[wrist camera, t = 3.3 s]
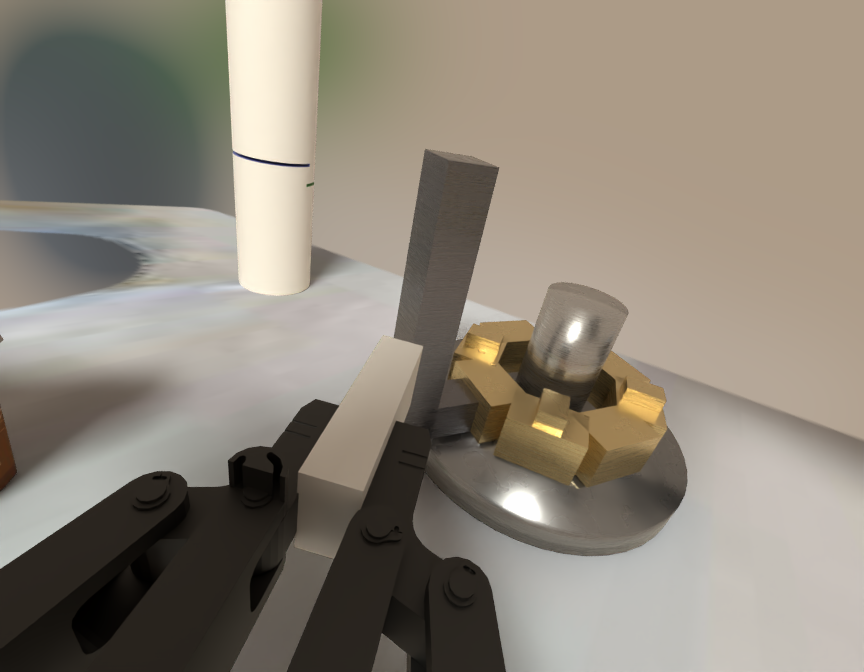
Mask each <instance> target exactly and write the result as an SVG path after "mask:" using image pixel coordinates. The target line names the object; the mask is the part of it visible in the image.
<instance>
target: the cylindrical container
mask: <svg viewBox="0 0 864 672" xmlns="http://www.w3.org/2000/svg"><path fill="white" fill-rule="evenodd" d="M225 2H226V21H227V41H228V42H227V43H228V60H229V61H228V63H229V82H230V83H229V84H230V104H231V127H232V147H233V150H234V151H233V167H234V189H235V209H236V230H237V251H238V272H239V283H240V284H241V285H242V286H243V287H244V288H246V289H247V290H250V291H252V292H255V293H259V294H264V295H272V296H283V295H292V294H296V293H300V292H302V291H304V290H305V289H307V288H308V287H309V284H310V265H311V242H312V218H313V194H314V171H315V150H316V128H317V105H318V82H319V61H320V60H319V59H320V38H321V16H322V0H225Z"/></svg>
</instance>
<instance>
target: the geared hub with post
mask: <svg viewBox="0 0 864 672" xmlns="http://www.w3.org/2000/svg"><path fill="white" fill-rule="evenodd" d="M498 171H499V167H496V166H494V165H492V164H489V163H487V162H484V161H482V160H479V159H477V158H475V157H472V156H466V155H460V154H453V153H446V152H440V151H434V150H428V149H426V150H425V153H424V159H423V165H422V171H421V177H420V183H419V189H418V195H417V201H416V207H415V213H414V219H413V225H412V231H411V237H410V243H409V249H408V255H407V262H406V268H405V274H404V279H403V285H402V291H401V297H400V303H399V309H398V315H397V322H396V328H395V334H394V338H395V339H399V340H402V341H406V342H410V343H414V344H417V345H421V346H423V350H422V354H421V359H420V364H419V368H418V373H417V377H416V382H415V386H414V391H413V395H412V400H411V405H410V407H409V410H408V413H407V416H406V418H405V421H404V423H406V424H410V425H413V426H417V427H421V428H424V429H428V431H429V435H430V439H432V438H438V437H443V436H448V435H453V434H459V433H464V432H469V431H470V432H471V433H472V435H473V436H474V438H475V439H476V441H477V442H478V444H480V443H485V442H490V441H494V440H498V441H497V444H496V447H495V450H494V453H493V455H495V456H497V457H500V458H502V459H504V460H507V461H509V462H512V463H514V464H517V465H519V466H521V467H524V468H526V469H529V470H531V471H534V472H536V473H539V474H541V475H543V476H546V477H548V478H551V479H553V480H556V481H558V482H561V483H563V484H565V485H568V486H569V485H570V483H571V481H572V479H573V477H574V475H576V476H577V477H578V478H579V479H580V480H581V482H582V483H583V484H584V485H585V486H586V487H587V488H588V487H591V486H594V485H598V484H601V483H604V482H608V481H611V480H614V479H617V478H621V477H624V476H627V475H631V474H634V473H637V472H640V471H641V469H642V468H643V466H644V465H645V463H646V462H647V460H648V459H649V457H650V456H651V454H652V452H653V451H654V449H655V448H656V446H657V445H658V443H659V441H660V440H661V438H662V437H663V435H664V433H665V432H666V430H667V426H666V421H665V417H664V412H663V406H664V405H665V403H666V397H665V393H664V389H663V388H661V387H658V386H656V385H653V384H650V381H651V380H650V379H648V378H647V377H646V376H644V375H643V374H642V373H640V372H639V371H638V370H636V369H635V368H634V367H632V366H631V365H630V364H628V363H627V362H626V361H624V360H623V359H622V358H620V357H619V356H618V355H616V354H615V353H614V352H612V351H610V353H609V355H608V357H607V359H606V361H605V364H604V366H603V368H602V370H601V372H600V374H599V376H598V378H597V380H596V382H595V384H594V386H593V389H592V391H591V393H590V395H589V397H588V399H587V401H588V402H589V403H590V404H591V405H593V406H594V407H595V408H596V410H590V411H585V412H580V413H578V412H576V411H573V410H570V409H569V405H570V397H568V396H565V395H562V394H560V393H557V392H554V391H551V390H548V389H546V388H544V389H543V391H542V394H541V396H540V398H538V397H535V396H532V395H530V394H527V393H525V392H524V391H523V389H522V388H521V387H520V386H519V385H518V384H517V383H516V382H515V381H514V380H513V379H512V378H511V376H510V375H509V374H508V373H512V372H519V369H520V366H521V364H522V361H523V358H524V355H525V352H526V350H527V347H528V344H529V341H530V338H531V336H532V333H533V330H534V327H533V326H532V325H531V324H530V323H529V322H527V321H526V320H522V321H503V322H485V323H480V326H479V325H476V324H473V325H472V327H471V328H470V330H469V331H468V333H467V334H466V336H465V337H464V338H463V340H462V341H461V343H460V344H459V346H458V347H457V349H456V350H455V352H454V355H453V359H452V363H451V367H450V371H449V374H448V378H447V380H446V376H447V372H448V368H449V364H450V360H451V356H452V352H453V348H454V344H455V340H456V337H457V333H458V329H459V325H460V321H461V317H462V313H463V309H464V305H465V301H466V297H467V293H468V289H469V285H470V281H471V277H472V273H473V269H474V265H475V261H476V257H477V254H478V250H479V246H480V242H481V237H482V234H483V230H484V226H485V222H486V218H487V214H488V210H489V206H490V202H491V198H492V194H493V190H494V186H495V183H496V178H497V174H498Z"/></svg>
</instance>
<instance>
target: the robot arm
mask: <svg viewBox="0 0 864 672" xmlns="http://www.w3.org/2000/svg"><path fill="white" fill-rule="evenodd" d="M422 350H423V346H421V345H417V344H414V343H410V342H406V341H402V340H399V339H395V338H391V337H388V336H384V335H383V336H382V338H381V339H380V341H379V343H378V344H377V346H376V347H375V349H374V351H373V352H372V354H371V355H370V357H369V359H368V360H367V362H366V363H365V365H364V367H363V368H362V370H361V372H360V373H359V375H358V376H357V378H356V380H355V381H354V383H353V384H352V386H351V388H350V389H349V391H348V392H347V394H346V396H345V397H344V399H343V401H342V402H341V404H340V405H335V404H331V403H328V402H324V401H321V400H317V399H315V400H313V401H312V402H310V403H309V404H307V405H305V406H304V407H302V408H301V409H300V410H299V412H298V413H297V414H296V416H295V417H294V419H293V420H292V422H291V423H290V424H289V425H288V427H287V428H286V429H285V432H283V433H282V435H281V436H280V437H279V439H278V440H277V441H276V443H275V444H274V445H273V447H272V448H271V447H263V446H259V447H252V448H247V449H245V450H243V451H240V452H238V453H236V454H235V455H234V456H233V457H232V458H230V459H229V460H228V469H229V484H230V485H227V486H221V487H187V481H186V480H185V479H184V478H183V477H182V476H181V475H179V474H176V473H173V472H170V471H157V472H153V473H149V474H145V475H142V476H140V477H138V478H136V479H135V480H133V481H131V482H129V483H128V484H126V485H125V486H123V487H122V488H120V489H119V490H117V491H116V492H114V493H113V494H111V495H110V496H108V497H107V498H105V499H104V500H102V501H101V502H99V503H98V504H96V505H95V506H93V507H92V508H90V509H89V510H87V511H86V512H84V513H83V514H82V515H80V516H79V517H77V518H76V519H74V520H73V521H71V522H70V523H68V524H67V525H65V526H64V527H62V528H61V529H59V530H58V531H56V532H55V533H53V534H52V535H50V536H49V537H47V538H46V539H44V540H43V541H41V542H40V543H38V544H37V545H35V546H34V547H32V548H31V549H29V550H28V551H26V552H25V553H23V554H22V555H20V556H19V557H18V558H16V559H15V560H13V561H12V562H10V563H9V564H7V565H6V566H4V567H3V568H1V569H0V672H230V670H231V669H232V667H233V665H234V663H235V661H236V659H237V657H238V655H239V653H240V651H241V649H242V647H243V645H244V643H245V641H246V640H247V638H248V636H249V634H250V632H251V630H252V628H253V626H254V624H255V622H256V620H257V618H258V616H259V614H260V612H261V611H262V609H263V607H264V605H265V603H266V601H267V599H268V597H269V595H270V593H271V591H272V589H273V587H274V585H275V583H276V582H277V580H278V578H279V576H280V574H281V572H282V570H283V567H284V563H285V559H286V551H287V549H288V547H289V545H290V543H291V542H292V540H293V538H294V536H295V541H294V547H296V548H299V549H302V550H305V551H309V552H312V553H315V554H318V555H322V556H325V557H328V558H331V559H334V560H333V563H332V565H331V567H330V570H329V572H328V575H327V577H326V579H325V582H324V584H323V586H322V589H321V591H320V594H319V596H318V598H317V601H316V603H315V606H314V608H313V610H312V613H311V615H310V617H309V620H308V622H307V625H306V627H305V629H304V632H303V634H302V637H301V639H300V641H299V644H298V646H297V648H296V651H295V653H294V656H293V658H292V660H291V663H290V665H289V667H288V670H287V672H371V671H372V667H373V664H374V660H375V656H376V652H377V649H378V645H379V641H380V637H381V634H382V633H383V634H384V635H385V636H387V637H388V638H389V639H390V640H392V641H393V642H394V643H395V644H396V645H398V646H399V647H400V648H401V649H403V650H404V651H405V652H406V653H407V672H506V670H505V664H504V658H503V653H502V647H501V641H500V635H499V629H498V623H497V617H496V612H495V606H494V600H493V594H492V589H491V586H490V583H489V581H488V578H487V576H486V575H485V574H484V572H483V571H482V570H481V569H480V567H479V566H477V565H476V564H474V563H473V562H471V561H470V560H467V559H463V558H460V557H452V558H446V559H444V560H442V559H441V558H439V557H438V556H437V555H435V554H434V553H432V552H431V551H429V550H428V549H427V548H426V547H425V546H424V545H422V543H421V542H420V540H419V539H418V538H417V536H416V534H415V531H414V528H413V522H412V520H413V513H414V509H415V505H416V501H417V498H418V494H419V490H420V486H421V482H422V479H423V475H424V471H425V467H426V463H427V459H428V456H429V452H430V448H431V444H432V443H431V439H430V435H429V431H428V429H424V428H421V427H417V426H413V425H410V424H406V423H404V421H405V418H406V416H407V413H408V410H409V407H410V405H411V400H412V395H413V391H414V386H415V382H416V377H417V373H418V368H419V364H420V359H421V354H422Z"/></svg>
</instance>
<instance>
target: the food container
mask: <svg viewBox="0 0 864 672" xmlns="http://www.w3.org/2000/svg"><path fill="white" fill-rule="evenodd" d="M2 341H3V338H2V337H1V335H0V342H2ZM16 473H17V469H16V465H15V461H14V457H13V453H12V449H11V445H10V442H9V438H8V434H7V430H6V426H5V422H4V418H3V414H2V410H1V406H0V491H1V490H2V489H3V488H4V487H5V486H6V485H7V484H8V483H9V482H10V480H11V479H12V478H13V477H14V476H15V474H16Z"/></svg>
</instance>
